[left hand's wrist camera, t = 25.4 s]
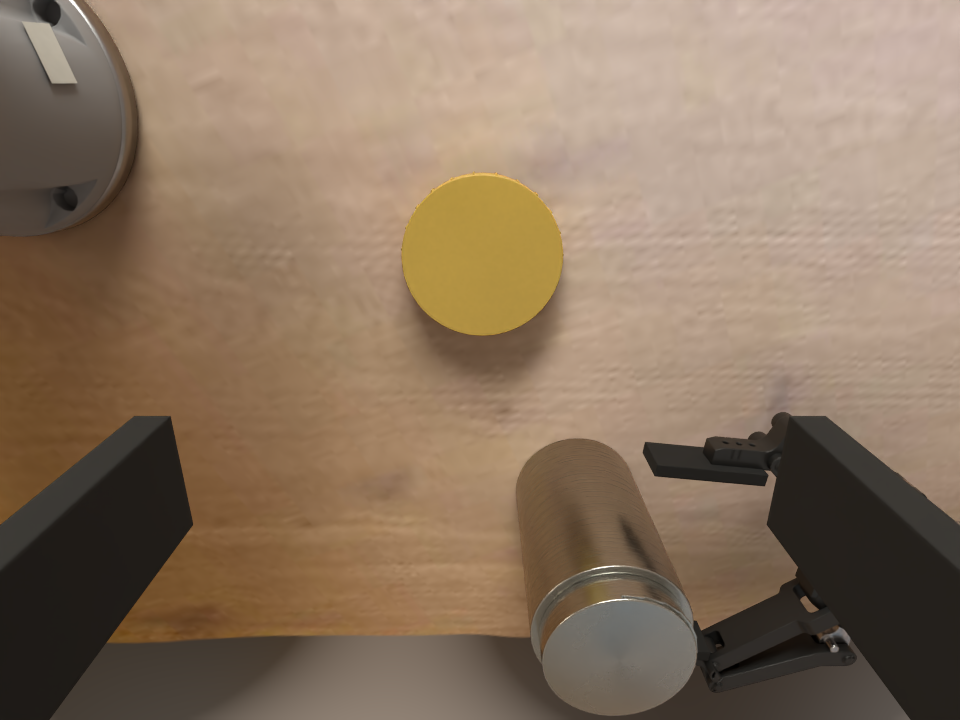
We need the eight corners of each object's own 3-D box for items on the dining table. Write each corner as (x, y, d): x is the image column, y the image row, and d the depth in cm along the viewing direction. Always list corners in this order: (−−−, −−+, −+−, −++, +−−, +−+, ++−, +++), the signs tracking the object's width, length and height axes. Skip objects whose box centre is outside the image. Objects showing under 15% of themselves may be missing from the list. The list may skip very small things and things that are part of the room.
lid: (393, 180, 35) (388, 183, 34) (555, 162, 35) (559, 164, 33) (416, 333, 39) (412, 343, 37) (563, 318, 39) (568, 328, 37)
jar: (621, 541, 45) (685, 727, 31) (510, 533, 45) (523, 717, 31) (642, 443, 42) (724, 599, 28) (522, 433, 42) (545, 586, 28)
